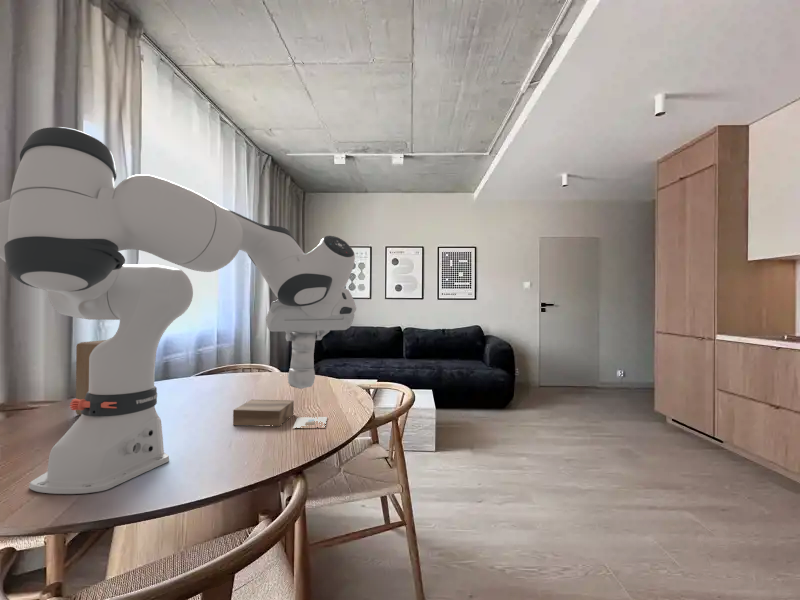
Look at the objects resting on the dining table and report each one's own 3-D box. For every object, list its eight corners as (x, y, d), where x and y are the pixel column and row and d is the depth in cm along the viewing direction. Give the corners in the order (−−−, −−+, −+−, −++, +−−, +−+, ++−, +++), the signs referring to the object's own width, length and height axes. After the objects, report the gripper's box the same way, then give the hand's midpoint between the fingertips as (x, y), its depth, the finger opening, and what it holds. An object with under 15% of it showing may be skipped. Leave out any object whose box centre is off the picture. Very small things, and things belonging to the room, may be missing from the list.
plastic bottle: (282, 389, 106) (287, 304, 106) (293, 384, 112) (298, 305, 113) (308, 391, 105) (313, 306, 105) (318, 386, 111) (322, 306, 112)
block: (73, 415, 122) (74, 342, 122) (107, 407, 131) (108, 339, 131) (101, 418, 119) (102, 343, 119) (134, 410, 129) (134, 340, 129)
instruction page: (325, 428, 112) (325, 426, 112) (292, 429, 111) (292, 427, 111) (327, 417, 122) (327, 416, 122) (297, 418, 121) (297, 417, 121)
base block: (279, 426, 113) (279, 411, 113) (233, 425, 114) (233, 409, 114) (293, 414, 125) (293, 400, 125) (251, 413, 126) (251, 399, 126)
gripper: (275, 308, 94) (262, 350, 102) (362, 309, 104) (344, 346, 113) (270, 288, 98) (258, 329, 106) (354, 290, 108) (337, 328, 117)
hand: (303, 338), depth 109 cm, fingers closed on plastic bottle, 6 cm apart
